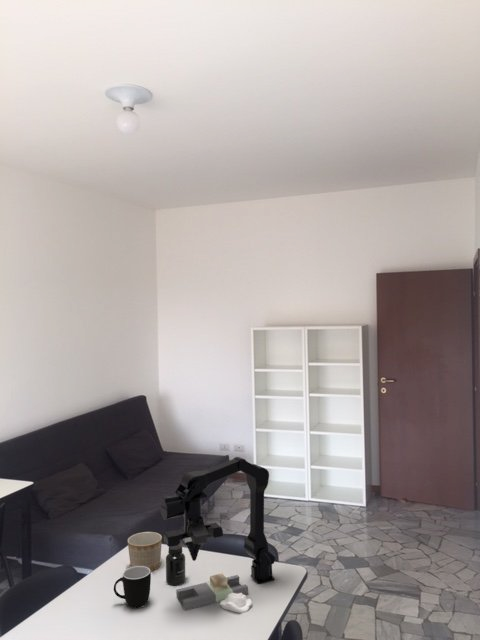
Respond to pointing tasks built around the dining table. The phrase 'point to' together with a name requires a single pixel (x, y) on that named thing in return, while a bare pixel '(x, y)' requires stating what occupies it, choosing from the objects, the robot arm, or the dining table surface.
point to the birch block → (218, 582)
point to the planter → (145, 549)
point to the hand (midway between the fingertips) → (194, 560)
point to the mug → (135, 586)
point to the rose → (236, 603)
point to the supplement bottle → (175, 566)
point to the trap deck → (208, 593)
